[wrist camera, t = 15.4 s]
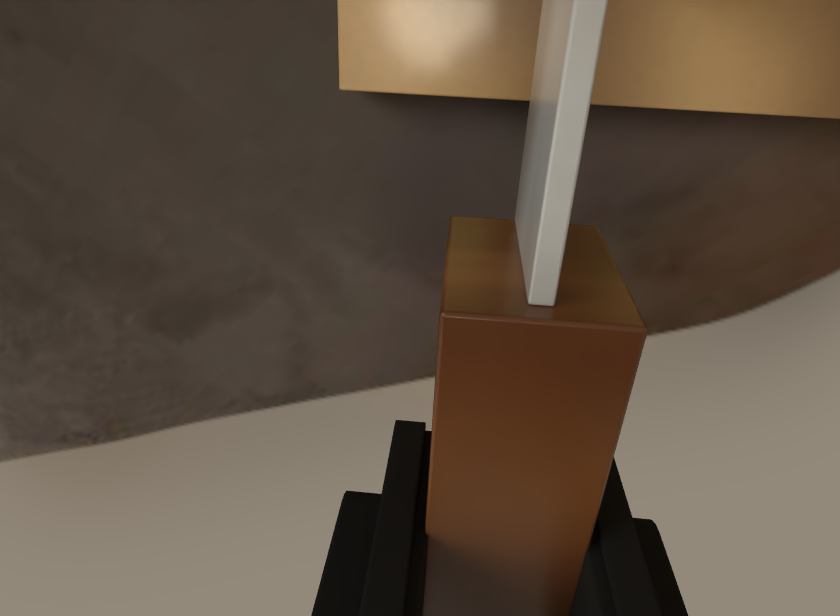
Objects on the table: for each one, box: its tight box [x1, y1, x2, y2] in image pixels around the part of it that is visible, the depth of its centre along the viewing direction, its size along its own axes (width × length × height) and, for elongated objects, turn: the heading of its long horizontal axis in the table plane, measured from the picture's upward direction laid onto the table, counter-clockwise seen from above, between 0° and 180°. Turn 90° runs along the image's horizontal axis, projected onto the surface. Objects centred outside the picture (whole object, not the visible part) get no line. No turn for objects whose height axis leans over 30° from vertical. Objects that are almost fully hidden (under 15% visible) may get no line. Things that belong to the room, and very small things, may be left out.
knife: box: [422, 0, 648, 616], centre depth 7 cm, size 21×2×3 cm, turn 178°
